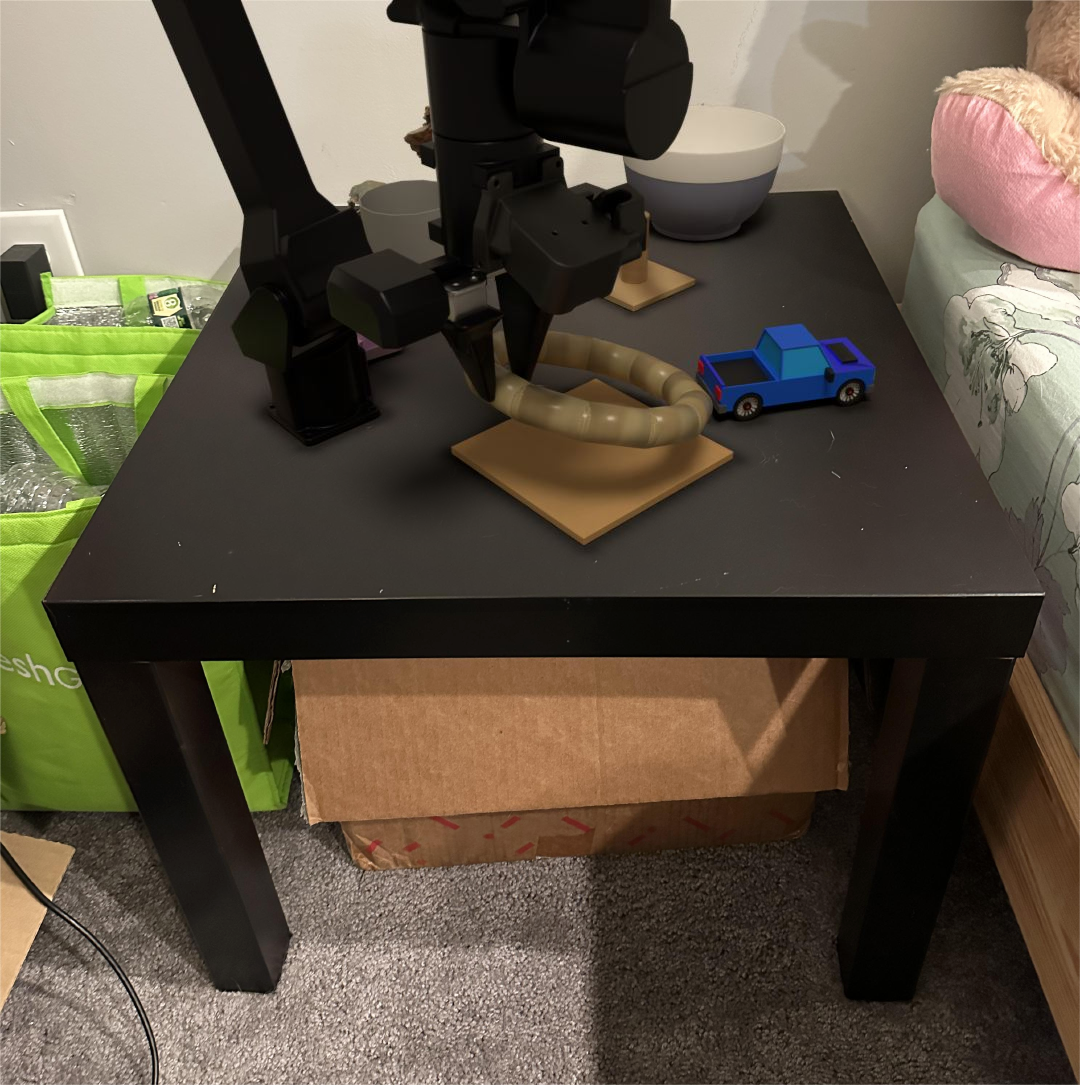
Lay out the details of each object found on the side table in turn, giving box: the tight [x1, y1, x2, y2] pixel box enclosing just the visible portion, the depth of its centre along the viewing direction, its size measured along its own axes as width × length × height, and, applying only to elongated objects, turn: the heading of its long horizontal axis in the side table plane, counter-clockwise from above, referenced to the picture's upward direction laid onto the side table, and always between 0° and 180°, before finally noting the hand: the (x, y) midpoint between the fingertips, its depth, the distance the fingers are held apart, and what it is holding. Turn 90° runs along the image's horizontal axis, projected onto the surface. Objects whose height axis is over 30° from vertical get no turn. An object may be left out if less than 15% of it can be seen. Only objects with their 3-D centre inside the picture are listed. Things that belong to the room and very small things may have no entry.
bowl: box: [622, 104, 787, 242], centre depth 96 cm, size 16×16×10 cm
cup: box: [358, 179, 445, 264], centre depth 83 cm, size 8×8×10 cm
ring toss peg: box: [603, 211, 696, 312], centre depth 86 cm, size 8×8×7 cm
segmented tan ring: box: [460, 329, 714, 449], centre depth 63 cm, size 17×17×2 cm
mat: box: [450, 378, 734, 546], centre depth 67 cm, size 14×14×1 cm
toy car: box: [695, 323, 877, 421], centre depth 71 cm, size 7×12×5 cm, turn 101°
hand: (504, 391), depth 58 cm, fingers closed on segmented tan ring, 2 cm apart
